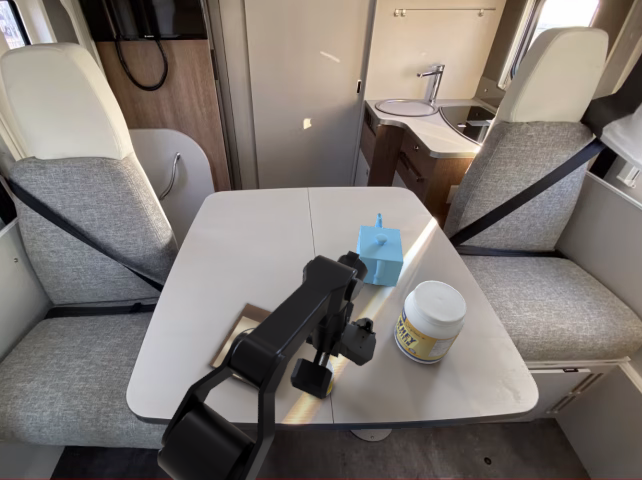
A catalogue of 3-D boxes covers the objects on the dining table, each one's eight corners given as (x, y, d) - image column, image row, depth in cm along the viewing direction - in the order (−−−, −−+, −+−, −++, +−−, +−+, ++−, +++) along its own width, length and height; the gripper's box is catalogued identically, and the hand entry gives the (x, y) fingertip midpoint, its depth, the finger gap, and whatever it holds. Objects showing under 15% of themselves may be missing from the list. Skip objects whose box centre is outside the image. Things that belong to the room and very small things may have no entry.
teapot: (395, 298, 85) (406, 264, 76) (354, 293, 86) (360, 259, 78) (390, 243, 101) (399, 210, 92) (356, 239, 103) (361, 207, 94)
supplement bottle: (318, 367, 71) (320, 346, 65) (337, 385, 68) (341, 364, 62) (302, 385, 68) (303, 364, 62) (321, 403, 65) (323, 384, 59)
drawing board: (271, 394, 67) (271, 392, 66) (209, 366, 72) (208, 363, 71) (301, 325, 79) (301, 322, 78) (247, 305, 84) (246, 302, 83)
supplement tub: (384, 324, 79) (398, 282, 68) (427, 314, 81) (447, 271, 70) (409, 371, 70) (430, 331, 59) (457, 359, 72) (485, 318, 61)
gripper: (362, 392, 42) (350, 429, 52) (386, 290, 55) (372, 335, 65) (287, 361, 46) (290, 402, 56) (326, 272, 59) (322, 318, 69)
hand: (322, 361), depth 61 cm, fingers open, 9 cm apart
